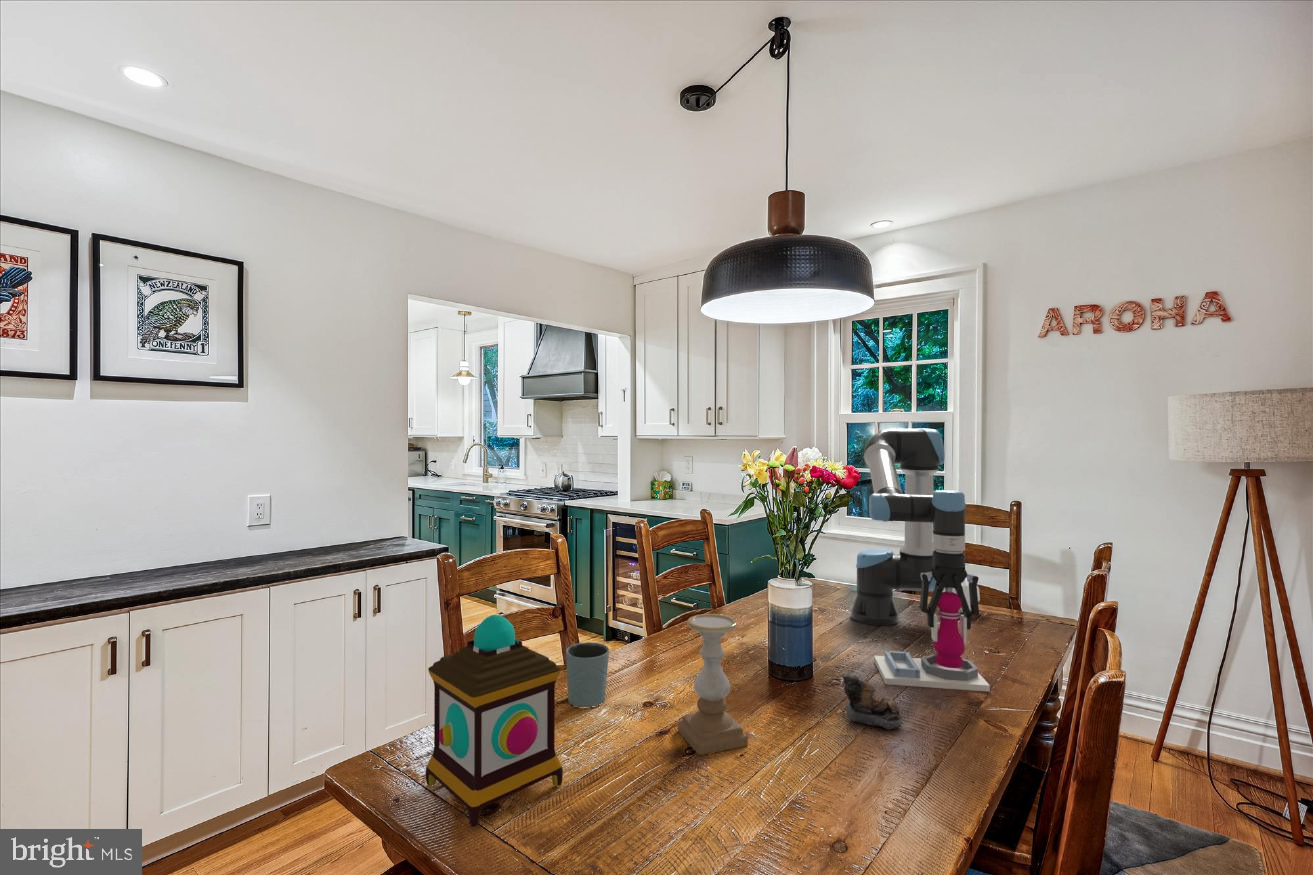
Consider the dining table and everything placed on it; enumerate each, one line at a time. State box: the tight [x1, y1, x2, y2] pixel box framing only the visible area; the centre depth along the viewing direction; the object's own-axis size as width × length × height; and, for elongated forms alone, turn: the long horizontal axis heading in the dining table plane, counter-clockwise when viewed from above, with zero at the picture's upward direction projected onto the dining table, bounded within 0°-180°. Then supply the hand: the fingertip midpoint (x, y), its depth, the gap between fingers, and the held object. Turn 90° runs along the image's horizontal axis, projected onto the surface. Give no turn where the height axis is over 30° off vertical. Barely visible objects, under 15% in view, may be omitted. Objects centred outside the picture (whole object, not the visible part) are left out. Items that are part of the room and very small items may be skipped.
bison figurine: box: [842, 673, 903, 730], centre depth 128 cm, size 12×7×10 cm, turn 70°
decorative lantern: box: [425, 614, 564, 828], centre depth 105 cm, size 20×20×30 cm
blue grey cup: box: [565, 642, 610, 707], centre depth 139 cm, size 10×10×12 cm
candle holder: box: [677, 613, 749, 756], centre depth 122 cm, size 11×11×24 cm
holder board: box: [873, 650, 991, 693], centre depth 155 cm, size 16×24×4 cm, turn 80°
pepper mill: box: [933, 587, 966, 668], centre depth 154 cm, size 7×7×20 cm
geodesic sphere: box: [942, 578, 981, 614], centre depth 213 cm, size 14×14×14 cm
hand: (948, 640), depth 154 cm, fingers closed on pepper mill, 6 cm apart
